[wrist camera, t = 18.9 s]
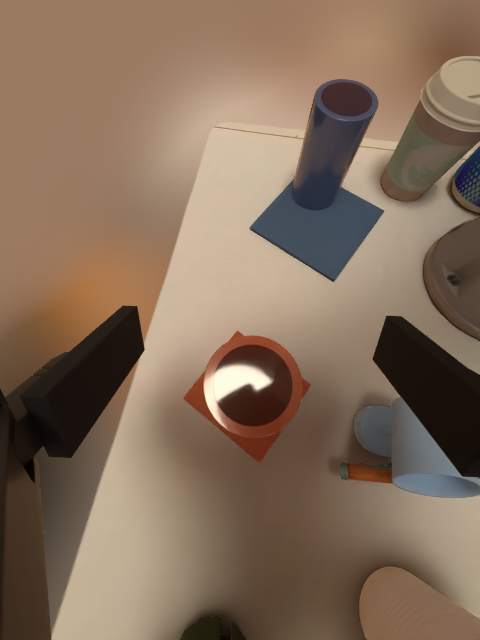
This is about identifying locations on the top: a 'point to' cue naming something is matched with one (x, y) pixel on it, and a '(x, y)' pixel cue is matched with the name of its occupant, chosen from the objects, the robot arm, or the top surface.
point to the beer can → (468, 183)
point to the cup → (411, 610)
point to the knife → (366, 472)
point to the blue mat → (318, 229)
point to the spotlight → (411, 452)
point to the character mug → (210, 630)
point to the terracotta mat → (250, 445)
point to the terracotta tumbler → (252, 386)
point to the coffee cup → (437, 130)
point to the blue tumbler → (332, 140)
